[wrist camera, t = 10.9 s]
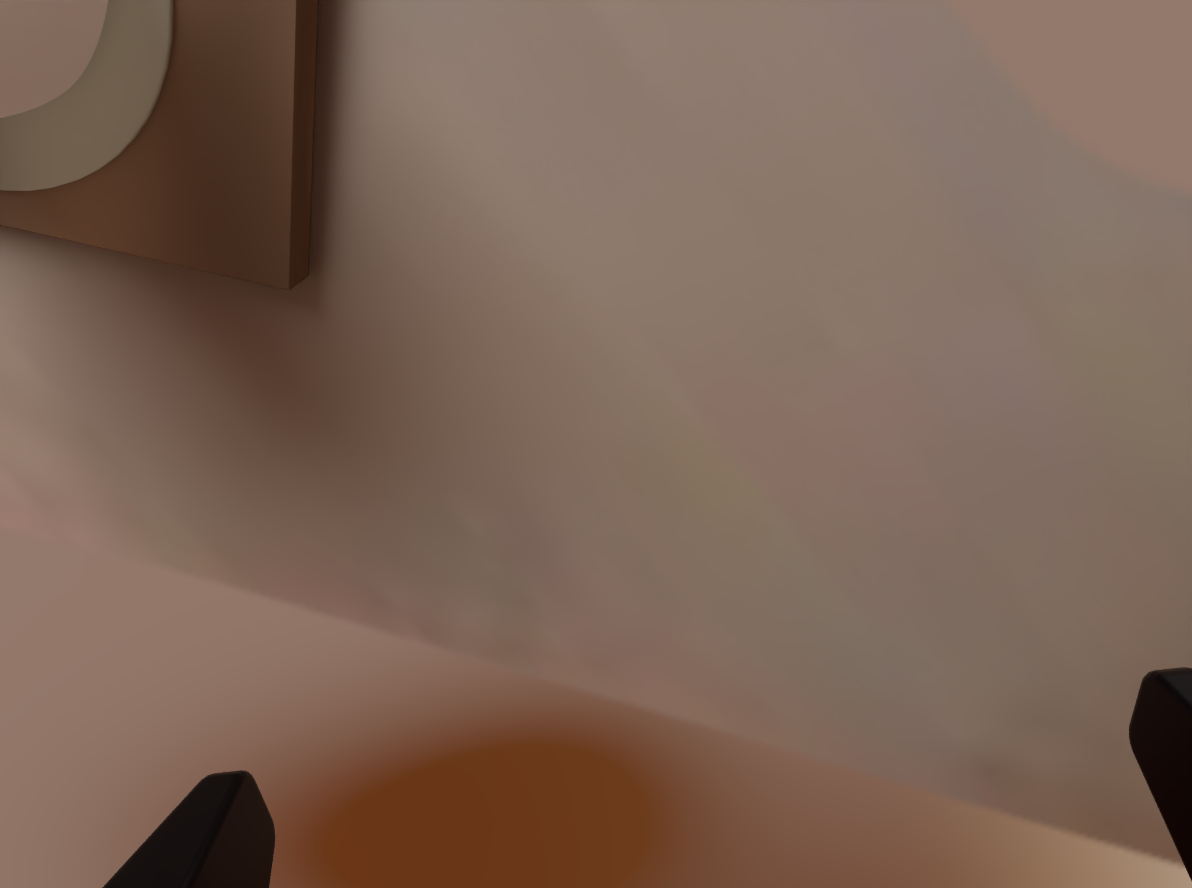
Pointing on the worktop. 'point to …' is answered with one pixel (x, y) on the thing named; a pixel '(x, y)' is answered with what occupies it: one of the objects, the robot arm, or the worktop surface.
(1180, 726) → the robot arm
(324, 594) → the worktop surface
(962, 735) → the worktop surface
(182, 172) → the coaster board
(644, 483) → the worktop surface
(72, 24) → the can
